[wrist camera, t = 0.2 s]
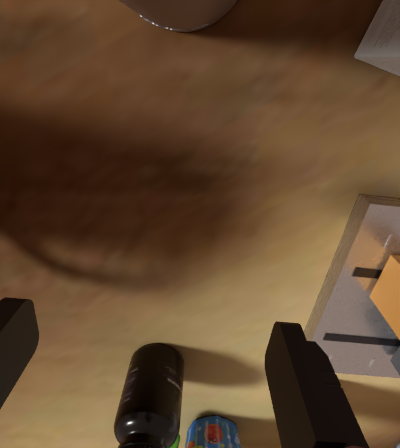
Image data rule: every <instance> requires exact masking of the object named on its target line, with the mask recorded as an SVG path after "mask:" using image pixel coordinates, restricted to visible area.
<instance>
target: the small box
mask: <svg viewBox="0 0 400 448" xmlns="http://www.w3.org/2000/svg"><path fill="white" fill-rule="evenodd" d="M354 58H356V59H359V60H361V61H364V62H366V63H368V64H371V65H373V66H375V67H378V68H380V69H383V70H385V71H387V72H390V73H392V74H395V75H397V76H399V77H400V0H383V1H382V3H381V5H380V6H379V8H378V10H377V12H376V14H375V16H374V18H373V20H372V22H371V24H370V26H369V28H368V29H367V31H366V33H365V35H364V37H363V39H362V41H361V43H360V45H359V47H358V49H357V51H356V53H355V55H354Z"/></svg>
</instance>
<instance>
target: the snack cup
mask: <svg viewBox="0 0 400 448" xmlns="http://www.w3.org/2000/svg"><path fill="white" fill-rule="evenodd" d="M179 441H180V435H178V437H177V439H176V441H175V443H174V444H173V445H172V446H171V447H170V448H178V446H179ZM185 448H242V447H241V443H240V438H239V435H238V431H237V427H236V425H235V424H233V423H232V422H231V421H230V420H228V419H224V418H221V417H219V416H214V417H213V416H211V417H204V418H200V419H198V420H194V421H193V422H192V424H191V426H190V427H189V429H188V432H187V438H186V443H185Z"/></svg>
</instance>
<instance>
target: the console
mask: <svg viewBox="0 0 400 448" xmlns="http://www.w3.org/2000/svg"><path fill="white" fill-rule="evenodd" d="M390 255H397V256H400V199H399V198H390V197H380V196H371V195H361V194H359V196H358V198H357V201H356V203H355V206H354V208H353V211H352V213H351V216H350V218H349V221H348V223H347V226H346V228H345V231H344V233H343V236H342V238H341V241H340V243H339V246H338V248H337V251H336V253H335V256H334V258H333V261H332V263H331V266H330V268H329V271H328V273H327V275H326V278H325V280H324V283H323V285H322V288H321V290H320V293H319V295H318V298H317V300H316V303H315V305H314V308H313V310H312V313H311V315H310V318H309V320H308V323H307V325H306V328H305V330H304V334H305V337H306V339H307V341H315V342H316V343H317V344H318V345H319V346H320V347H321V348H322V350H323V351H324V352H325V353H326V354H327V355H328V357H329V360H330V362H331V364H332V366H333V369H334V371H335V373H344V374H356V375H368V376H381V377H393V378H400V376H399V374H398V372H397V371H396V369H395V367H394V366H393V364H392V363H391V361H390V360H391V358H392V357H393V355H394V354H395V352H396V351H397V349H398V348H399V346H400V340H399V338H398V337H397V336H396V334H395V333H394V331H393V330H392V328H391V327H390V325H389V324H388V323H387V321H386V320H385V318H384V317H383V315H382V314H381V313H380V311H379V310H378V308H377V307H376V305H375V304H374V302H373V301H372V300H371V298H370V297H369V296H370V294H371V292H372V290H373V288H374V287H375V285H376V283H377V281H378V279H379V277H380V275H381V273H382V271H383V269H384V267H385V265H386V263H387V261H388V259H389V257H390Z"/></svg>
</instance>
